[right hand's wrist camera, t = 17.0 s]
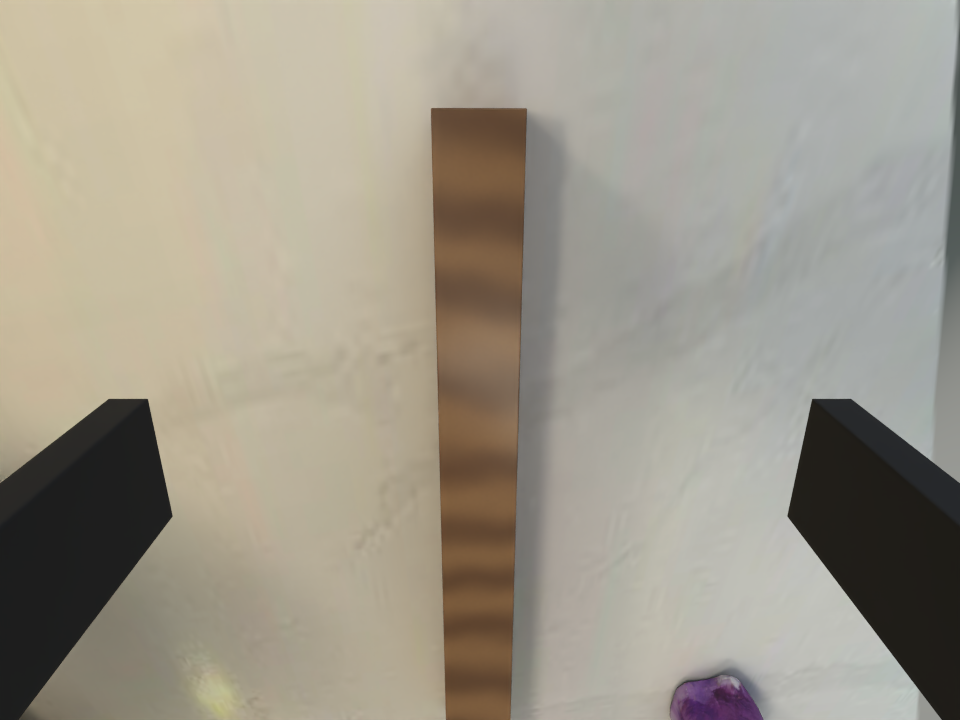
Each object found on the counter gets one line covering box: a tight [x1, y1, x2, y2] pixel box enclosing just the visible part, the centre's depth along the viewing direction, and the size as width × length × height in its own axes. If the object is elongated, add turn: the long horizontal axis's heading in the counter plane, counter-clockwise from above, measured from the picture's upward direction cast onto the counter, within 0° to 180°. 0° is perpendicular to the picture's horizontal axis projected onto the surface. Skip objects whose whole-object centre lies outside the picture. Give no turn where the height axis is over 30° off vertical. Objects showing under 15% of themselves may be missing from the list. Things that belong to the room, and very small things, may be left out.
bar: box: [431, 108, 527, 720], centre depth 50 cm, size 56×6×7 cm, turn 0°
